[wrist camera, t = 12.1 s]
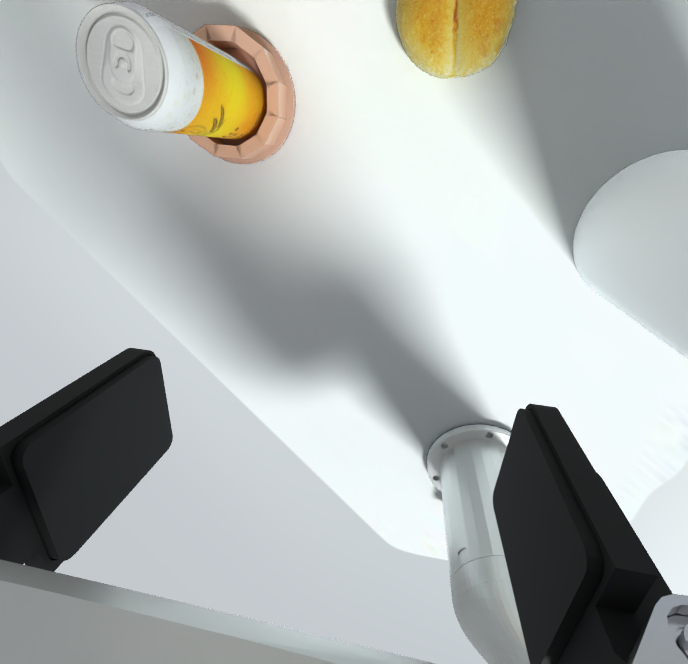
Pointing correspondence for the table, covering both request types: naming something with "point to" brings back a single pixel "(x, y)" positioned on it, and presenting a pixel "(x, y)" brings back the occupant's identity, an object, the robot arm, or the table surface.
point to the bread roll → (454, 34)
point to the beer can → (165, 75)
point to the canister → (641, 245)
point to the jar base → (276, 90)
